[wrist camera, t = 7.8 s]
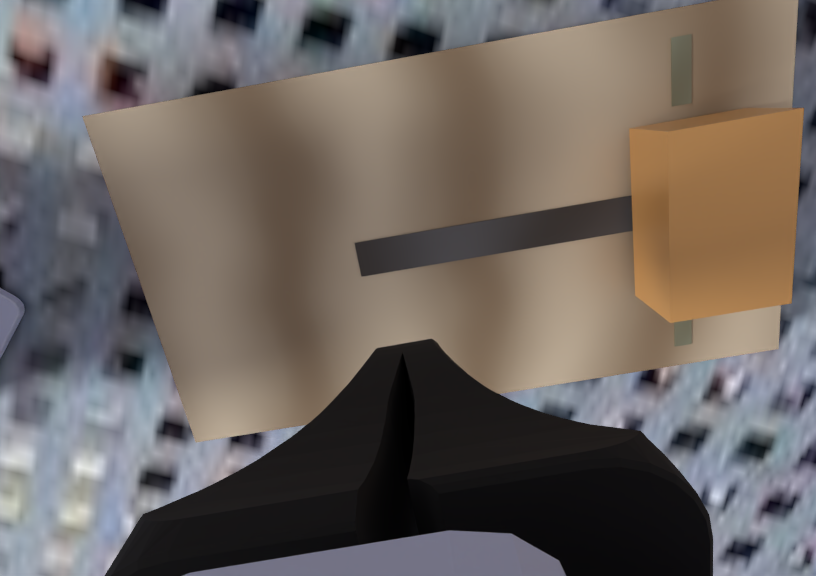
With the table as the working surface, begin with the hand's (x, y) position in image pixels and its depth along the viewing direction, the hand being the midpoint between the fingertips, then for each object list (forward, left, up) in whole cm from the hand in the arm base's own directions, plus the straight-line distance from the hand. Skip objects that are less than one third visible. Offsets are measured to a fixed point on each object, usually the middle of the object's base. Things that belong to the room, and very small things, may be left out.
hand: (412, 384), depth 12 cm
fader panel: (+1, +2, -9) cm, 10 cm away
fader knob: (+6, +7, -7) cm, 12 cm away
